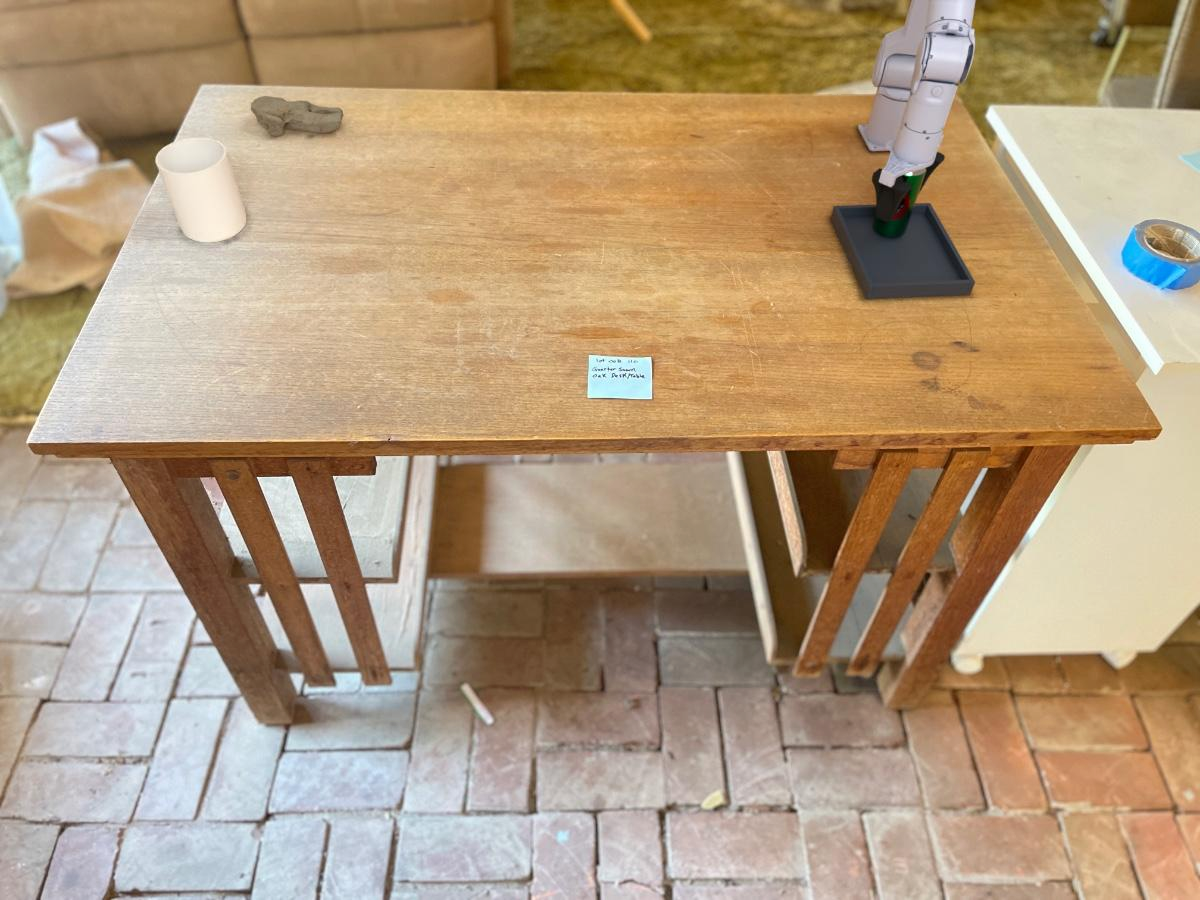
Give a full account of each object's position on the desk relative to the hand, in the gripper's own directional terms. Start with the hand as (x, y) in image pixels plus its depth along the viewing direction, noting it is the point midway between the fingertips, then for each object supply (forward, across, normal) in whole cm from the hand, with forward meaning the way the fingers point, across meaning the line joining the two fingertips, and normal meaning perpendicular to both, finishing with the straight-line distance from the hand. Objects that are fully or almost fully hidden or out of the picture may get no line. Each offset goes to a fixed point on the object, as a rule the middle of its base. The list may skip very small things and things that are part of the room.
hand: (895, 207), depth 136 cm
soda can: (+4, 0, 0) cm, 4 cm away
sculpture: (+5, +42, -88) cm, 98 cm away
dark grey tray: (+5, +4, +4) cm, 7 cm away
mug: (+5, +67, -76) cm, 102 cm away
